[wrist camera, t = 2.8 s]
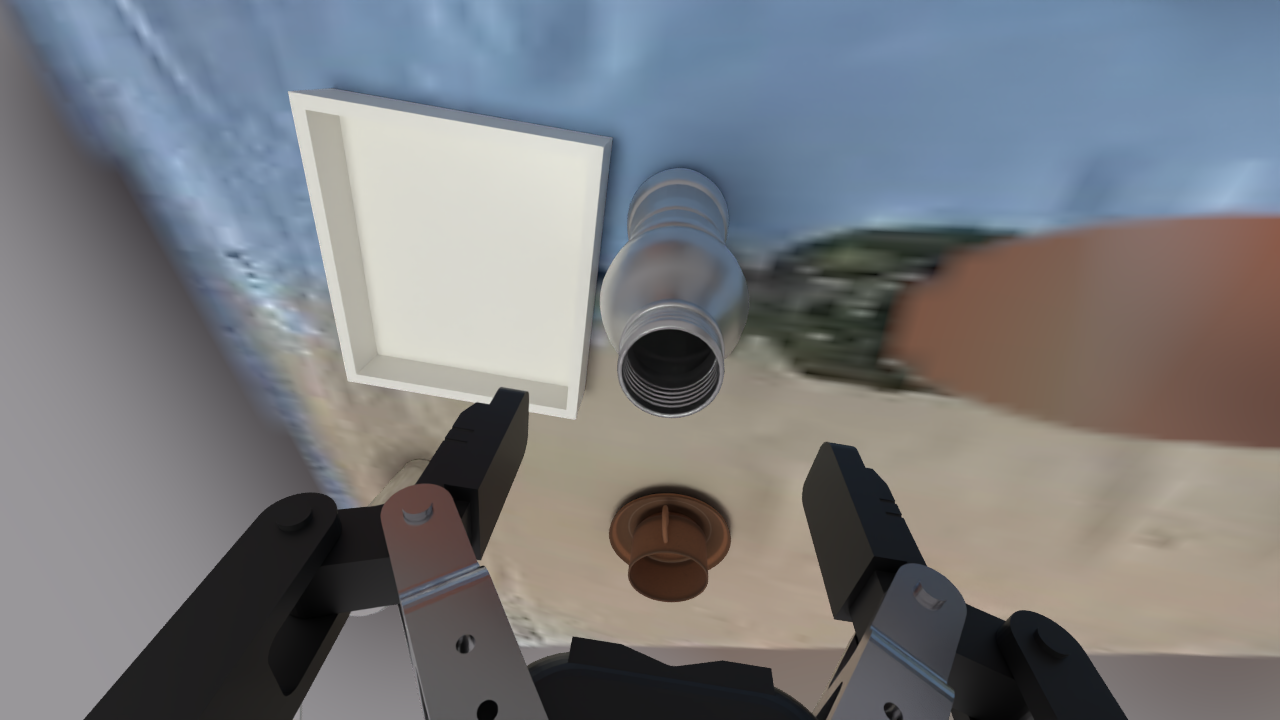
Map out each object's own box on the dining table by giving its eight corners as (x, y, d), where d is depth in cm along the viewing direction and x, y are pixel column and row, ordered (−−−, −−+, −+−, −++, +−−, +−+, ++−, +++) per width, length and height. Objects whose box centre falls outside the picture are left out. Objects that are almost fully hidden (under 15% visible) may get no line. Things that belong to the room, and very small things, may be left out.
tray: (331, 88, 31) (287, 91, 27) (612, 137, 31) (603, 146, 27) (375, 354, 41) (347, 380, 38) (584, 390, 41) (575, 419, 38)
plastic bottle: (728, 159, 31) (781, 276, 14) (723, 261, 34) (760, 453, 17) (628, 162, 32) (561, 278, 15) (633, 261, 35) (583, 448, 18)
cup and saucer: (591, 499, 49) (579, 551, 43) (703, 468, 45) (706, 521, 40) (641, 570, 54) (636, 625, 49) (745, 548, 51) (752, 604, 45)
